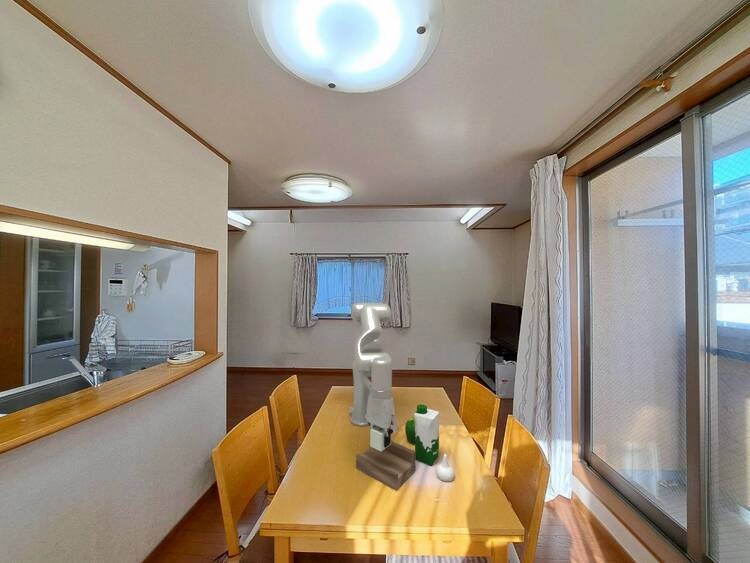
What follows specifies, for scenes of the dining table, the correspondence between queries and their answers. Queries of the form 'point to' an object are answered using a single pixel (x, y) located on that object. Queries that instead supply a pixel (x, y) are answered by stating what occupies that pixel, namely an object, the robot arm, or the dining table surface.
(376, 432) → the cabinet
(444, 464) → the garlic bulb
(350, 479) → the dining table surface
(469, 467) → the dining table surface
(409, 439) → the bell pepper
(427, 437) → the milk carton
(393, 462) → the shelf
